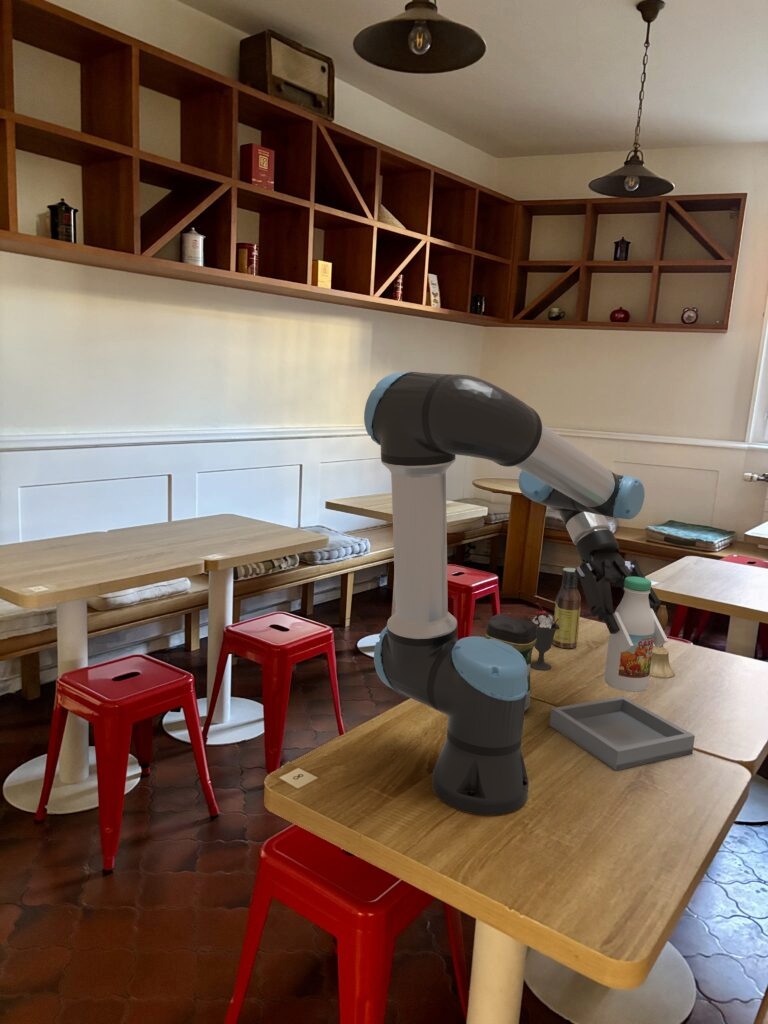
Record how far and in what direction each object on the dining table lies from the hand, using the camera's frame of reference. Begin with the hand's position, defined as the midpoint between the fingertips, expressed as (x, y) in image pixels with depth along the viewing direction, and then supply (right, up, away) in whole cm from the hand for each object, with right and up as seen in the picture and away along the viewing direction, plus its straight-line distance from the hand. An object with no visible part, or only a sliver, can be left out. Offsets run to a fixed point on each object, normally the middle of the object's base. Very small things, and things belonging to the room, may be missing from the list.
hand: (644, 646), depth 134 cm
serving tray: (-3, -18, +6) cm, 19 cm away
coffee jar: (-22, -15, +18) cm, 32 cm away
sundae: (-10, -12, +41) cm, 44 cm away
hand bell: (+17, -14, +42) cm, 47 cm away
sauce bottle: (-1, -10, +56) cm, 57 cm away
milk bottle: (-2, -8, +5) cm, 9 cm away
